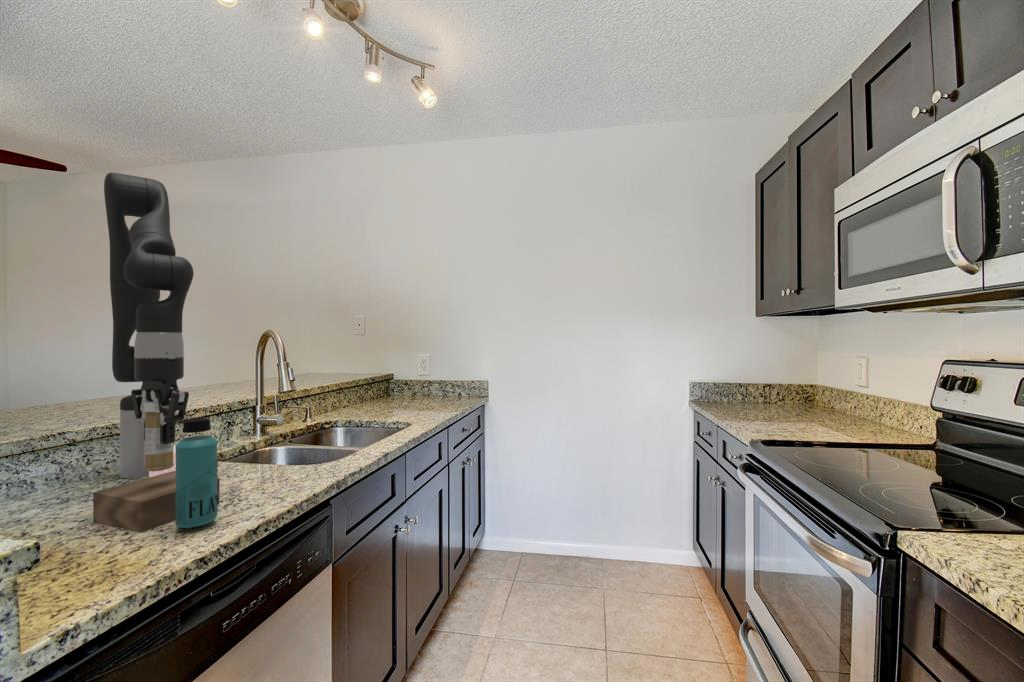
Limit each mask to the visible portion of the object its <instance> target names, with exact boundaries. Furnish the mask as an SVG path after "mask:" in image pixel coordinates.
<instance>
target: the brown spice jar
mask: <svg viewBox="0 0 1024 682" xmlns="http://www.w3.org/2000/svg"><path fill="white" fill-rule="evenodd" d="M162 408H169V405H167V406H162ZM144 412H145V456H146V458H145V462H146V466H145V470H146V471H161V470H165V469H169V468H171V467H173V466H174V462H173V449H174V445H175V444H174V443H175V441H174V442H173V443H169V444H161V443H160V425H161V422H160V417H159V414H157V413H156V412H155V404H154V402H150V401H149V402H145V403H144ZM167 414H168V412H166V418H167Z"/></svg>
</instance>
